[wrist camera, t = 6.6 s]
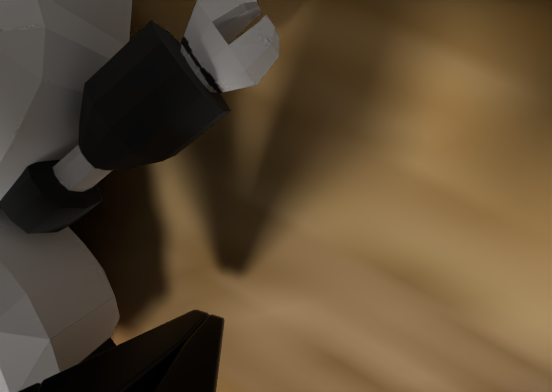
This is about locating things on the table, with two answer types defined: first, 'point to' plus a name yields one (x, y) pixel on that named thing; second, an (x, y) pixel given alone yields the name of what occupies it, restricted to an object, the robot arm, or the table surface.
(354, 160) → the table surface
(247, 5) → the robot toy
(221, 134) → the table surface
